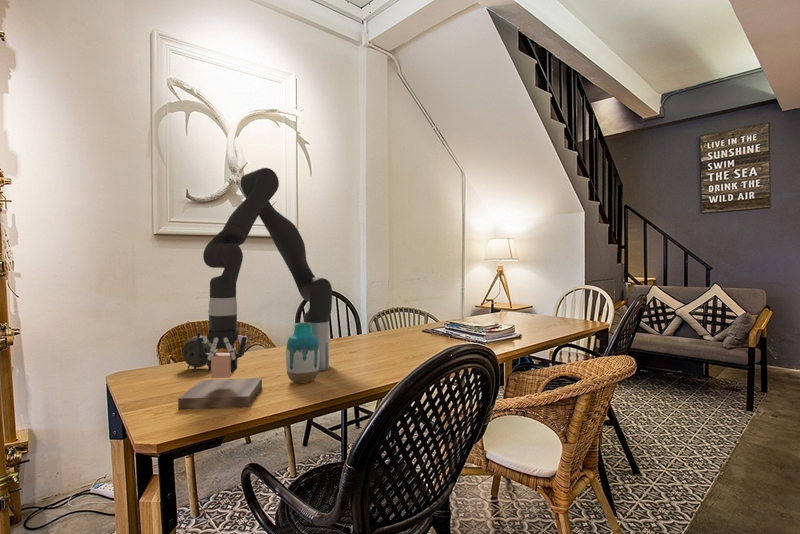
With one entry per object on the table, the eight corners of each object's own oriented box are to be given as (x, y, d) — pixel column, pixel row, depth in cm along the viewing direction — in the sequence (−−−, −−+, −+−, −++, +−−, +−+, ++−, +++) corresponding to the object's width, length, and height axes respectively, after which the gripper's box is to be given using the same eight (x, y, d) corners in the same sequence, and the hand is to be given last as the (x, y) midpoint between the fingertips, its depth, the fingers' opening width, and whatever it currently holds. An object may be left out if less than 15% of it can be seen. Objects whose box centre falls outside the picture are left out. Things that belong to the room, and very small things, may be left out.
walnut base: (261, 387, 135) (261, 378, 134) (248, 407, 117) (248, 396, 117) (201, 389, 132) (201, 379, 132) (178, 409, 114) (178, 398, 114)
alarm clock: (216, 368, 158) (216, 323, 158) (208, 372, 153) (208, 326, 153) (188, 367, 159) (188, 323, 159) (179, 371, 154) (179, 325, 154)
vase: (308, 376, 148) (308, 320, 148) (325, 382, 141) (326, 323, 141) (279, 382, 141) (280, 323, 141) (297, 389, 133) (297, 327, 133)
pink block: (234, 372, 127) (234, 352, 127) (229, 377, 122) (229, 356, 122) (216, 373, 127) (216, 352, 127) (211, 377, 122) (211, 356, 122)
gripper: (251, 311, 129) (251, 368, 129) (201, 311, 127) (201, 369, 127) (245, 314, 121) (245, 375, 122) (192, 314, 120) (191, 376, 120)
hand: (222, 371), depth 124 cm, fingers closed on pink block, 5 cm apart
